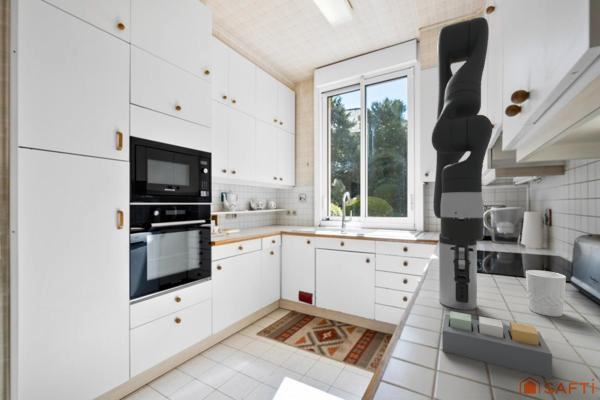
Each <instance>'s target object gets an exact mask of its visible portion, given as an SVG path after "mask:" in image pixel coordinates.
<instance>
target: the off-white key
mask: <svg viewBox="0 0 600 400" xmlns="http://www.w3.org/2000/svg"><path fill="white" fill-rule="evenodd" d="M478 320H479V330H480V333H481V334H486V335H491V336H496V337H500V338H503V325H504V324H503V323H502V320H500V319H495V318H489V317H485V316H484V317H483V316H478Z"/></svg>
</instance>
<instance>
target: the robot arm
mask: <svg viewBox="0 0 600 400" xmlns="http://www.w3.org/2000/svg"><path fill="white" fill-rule="evenodd" d="M489 32H490V31H489V23H488V20H487V18H485V17H482V16H481V17H480V16H479V17H474V18H469V19H466V20H462V21H457V22H453V23H450V24H447V25H444V26H442V27H441V28H440V30H439V32H438V35H437V45H436V46H437V50H436V51H437V52H436V53H437V55H436V56H437V80H438V82H437V83H438V84H437V85H438V91H437V92H438V93H437V95H438V96H437V113H436V122H435V125H434V126H433V129H432V132H431V145H432V147H433V149H434V150H435V151H436V166H435V178H434V180H435V181H434V189H433V191H434V192H433V204H432V205H433V213H434V216H435V217H436V218H437V219H439V220H440V233H439V235H438V237H439V238H438V242H439V243H438V245H439V246H438V249H439V250H438V254H439V255H438V256H439V257H438V258H439V260H438V262H439V263H438V267H439V268H438V270H439V271H438V272H439V274H438V276H439V277H438V279H439V282H438V285H439V286H438V297H439V298H438V301H439V303H441V305H443V306H446V307H448V308H452V309H456V310H457V309H458V310H466V311H469V310H470V311H471V310H476V309H477V308H478V305H477V304H478V302H477V301H478V299H477V298H478V269H477V268H478V265H477V263H478V259H477V258H478V254H477V253H478V252H477V251H478V250H477V249H478V247H477V246H478V245H477V241H478V242H479V241H482V240H483V239H484V238H485V232H484V231H485V230H484V228H485V227H484V226H485V225H484V223H485V219H484V218H485V217H484V216H485V215H484V213H485V212H484V206H485V205H484V200H483V189H482V188H483V185H482V184H483V183H482V182H483V180H482V179H483V176H482V175H483V174H482V173H483V164H484V160H485V157H486V153H487V150H488V148H489V144H490V141H491V139H492V135H493V123H492V121H491V119H490V118H489V117H487V116H486V115H484V114H479V113H480V110H481V108H482V79H483V73H484V69H485V64H486V59H487V52H488V44H489V35H490V34H489ZM461 62H462V63H463V62H464V63H463V64H462V65H461V66H460V67H459V68H458V69H457V70H456V72H454V74H453V71H452V67H451V66H452V64H456V63H461ZM468 152H470V153H469V155H468V156H467V157H466V158H465V159H464V160H461V159H462V158H463V157H464V155H465V154H466V153H468Z"/></svg>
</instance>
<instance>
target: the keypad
mask: <svg viewBox="0 0 600 400" xmlns="http://www.w3.org/2000/svg"><path fill="white" fill-rule="evenodd" d="M442 325H443V326H442V352H445V353H449V354H453V355H457V356H462V357H465V358H470V359H472V360H476V361H480V362H485V363H488V364H493V365H495V366H496V365H497V366H499V367H504V368H505V367H506V368H508V369H513V370H516V371H521V372H525V373H529V374H533V375H537V376H539V377H545V378H549V379H553V354H552V353H553V352H551V350H550V348H549V346H548V345H547V343H546V340H544V338H543V335H542V334H541V332H540V331H538V330H536V331H537V332H538V334H539V345H534V344H529V343H524V342H519V341H515V340H512V337H511V334H510V325H505V324H502V325H503V338H500V337H496V336H491V335H486V334H481V333H480V330H479V319H473V318H471V331H467V330H462V329H457V328H453V327H450V314H447V313H445V315H444V319H443V324H442Z"/></svg>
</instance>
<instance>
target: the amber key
mask: <svg viewBox="0 0 600 400" xmlns="http://www.w3.org/2000/svg"><path fill="white" fill-rule="evenodd" d="M509 326H510V334H511V337H512V340H515V341H519V342H524V343H529V344H534V345H539V334H538V332H539V331H538V330H537V329H536V327H535V326H534V325H527V324H522V323H517V322H513V321H510V322H509ZM537 331H538V332H537Z"/></svg>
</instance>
